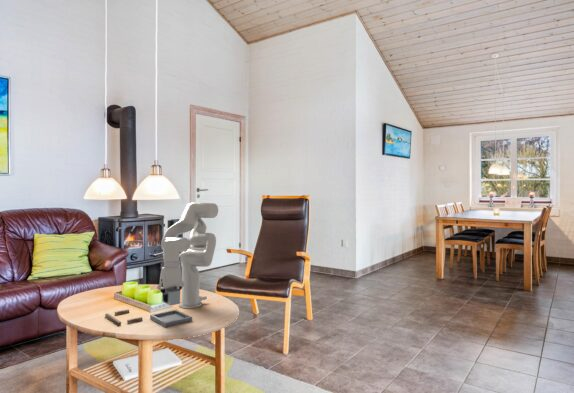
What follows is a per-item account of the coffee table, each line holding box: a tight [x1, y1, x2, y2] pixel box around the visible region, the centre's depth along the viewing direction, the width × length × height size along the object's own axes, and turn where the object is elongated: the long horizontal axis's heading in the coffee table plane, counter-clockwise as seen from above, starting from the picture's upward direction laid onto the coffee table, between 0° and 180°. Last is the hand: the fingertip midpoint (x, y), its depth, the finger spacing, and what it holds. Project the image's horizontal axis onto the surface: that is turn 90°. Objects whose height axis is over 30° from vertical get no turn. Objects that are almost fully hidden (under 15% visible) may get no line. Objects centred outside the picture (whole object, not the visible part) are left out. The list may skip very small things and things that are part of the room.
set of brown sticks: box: [104, 309, 143, 327], centre depth 202 cm, size 12×17×2 cm
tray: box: [149, 309, 193, 328], centre depth 202 cm, size 14×16×2 cm
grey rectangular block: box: [161, 287, 181, 306], centre depth 201 cm, size 5×9×7 cm, turn 43°
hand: (170, 300), depth 201 cm, fingers closed on grey rectangular block, 5 cm apart
